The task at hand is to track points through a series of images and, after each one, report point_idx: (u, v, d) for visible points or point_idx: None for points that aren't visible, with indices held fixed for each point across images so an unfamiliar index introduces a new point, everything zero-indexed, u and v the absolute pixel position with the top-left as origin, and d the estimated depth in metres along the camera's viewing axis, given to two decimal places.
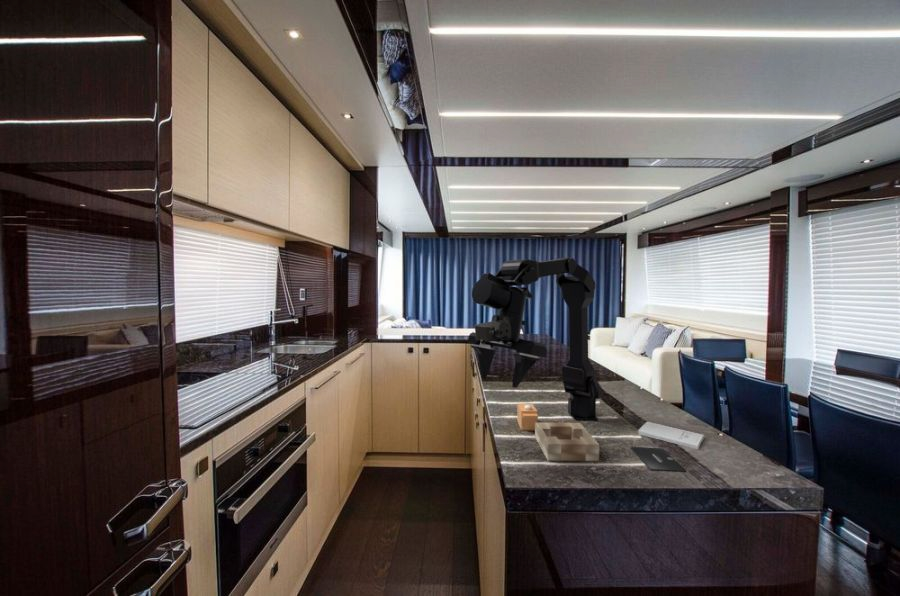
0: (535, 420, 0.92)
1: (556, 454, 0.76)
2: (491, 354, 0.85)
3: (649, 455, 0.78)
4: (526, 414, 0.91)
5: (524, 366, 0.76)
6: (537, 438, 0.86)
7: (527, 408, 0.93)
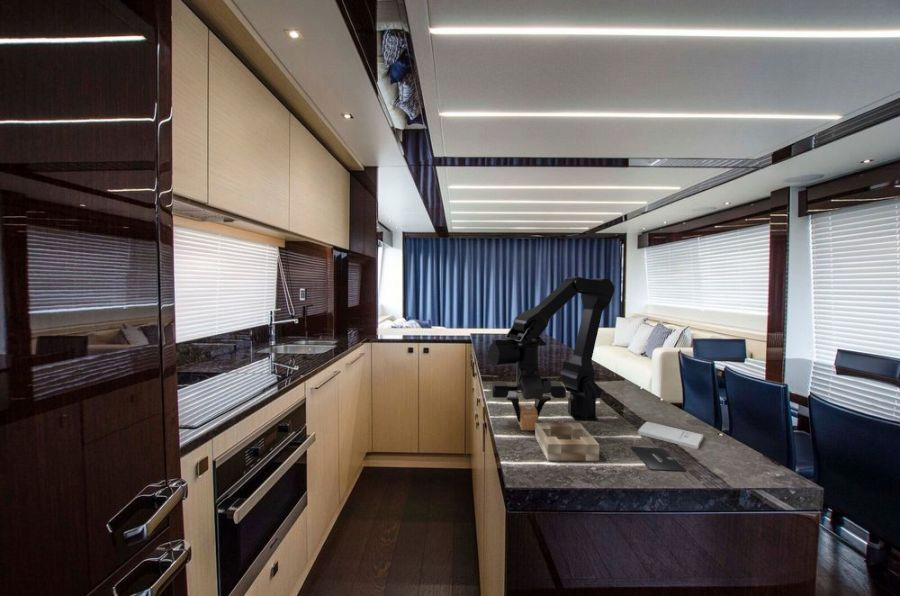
0: (535, 420, 0.92)
1: (556, 454, 0.76)
2: None
3: (649, 455, 0.78)
4: (526, 414, 0.91)
5: None
6: (537, 438, 0.86)
7: (527, 408, 0.93)
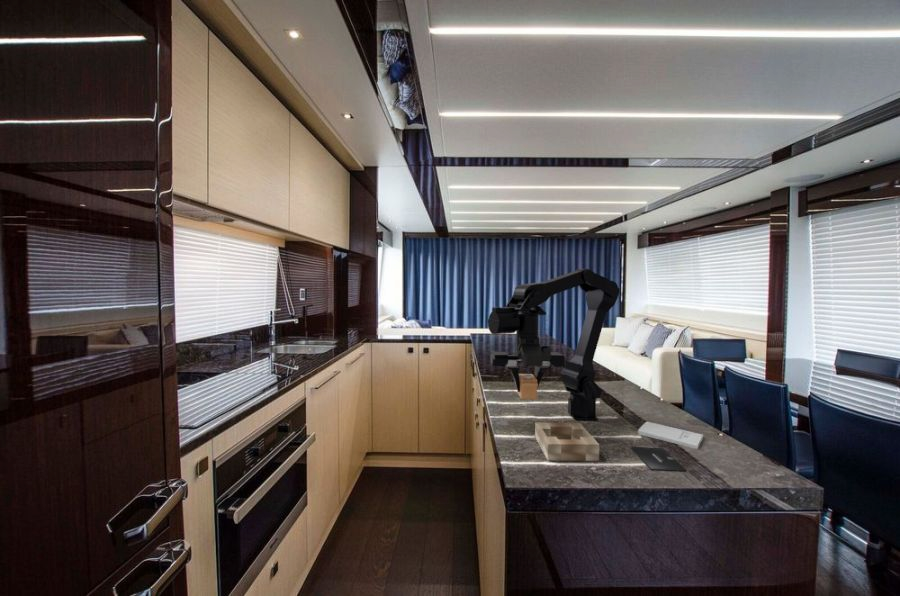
0: (535, 389, 0.92)
1: (556, 454, 0.76)
2: None
3: (649, 455, 0.78)
4: (526, 382, 0.91)
5: None
6: (537, 438, 0.86)
7: (527, 377, 0.92)
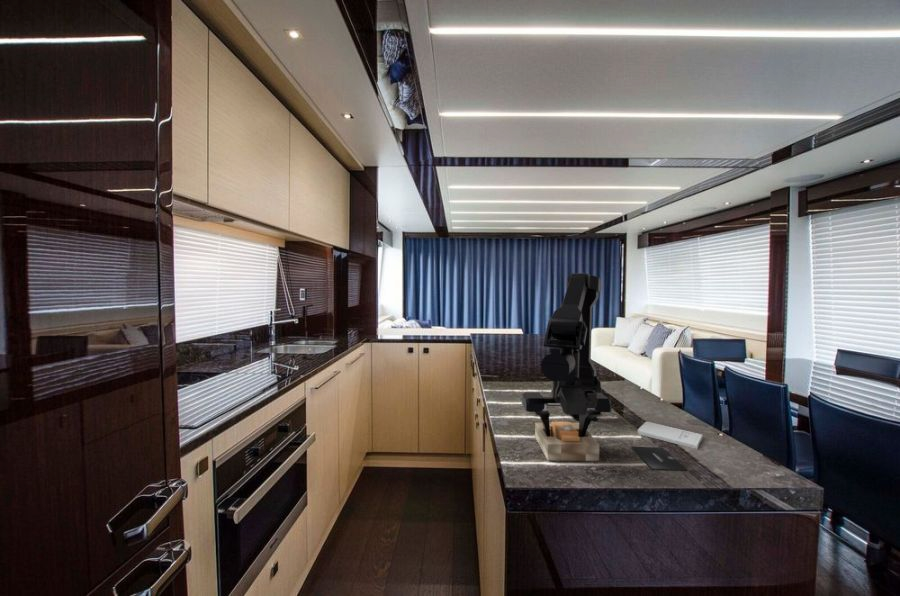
0: None
1: (556, 454, 0.76)
2: None
3: (649, 455, 0.78)
4: (566, 436, 0.78)
5: None
6: (537, 438, 0.86)
7: (566, 428, 0.80)
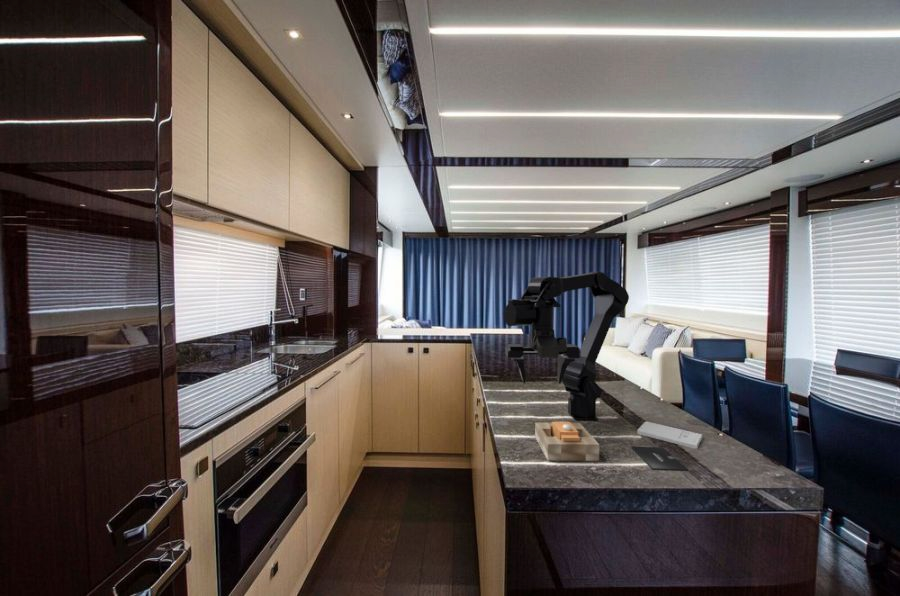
0: None
1: (556, 454, 0.76)
2: None
3: (650, 454, 0.78)
4: (566, 436, 0.78)
5: None
6: (537, 438, 0.86)
7: (566, 428, 0.80)
